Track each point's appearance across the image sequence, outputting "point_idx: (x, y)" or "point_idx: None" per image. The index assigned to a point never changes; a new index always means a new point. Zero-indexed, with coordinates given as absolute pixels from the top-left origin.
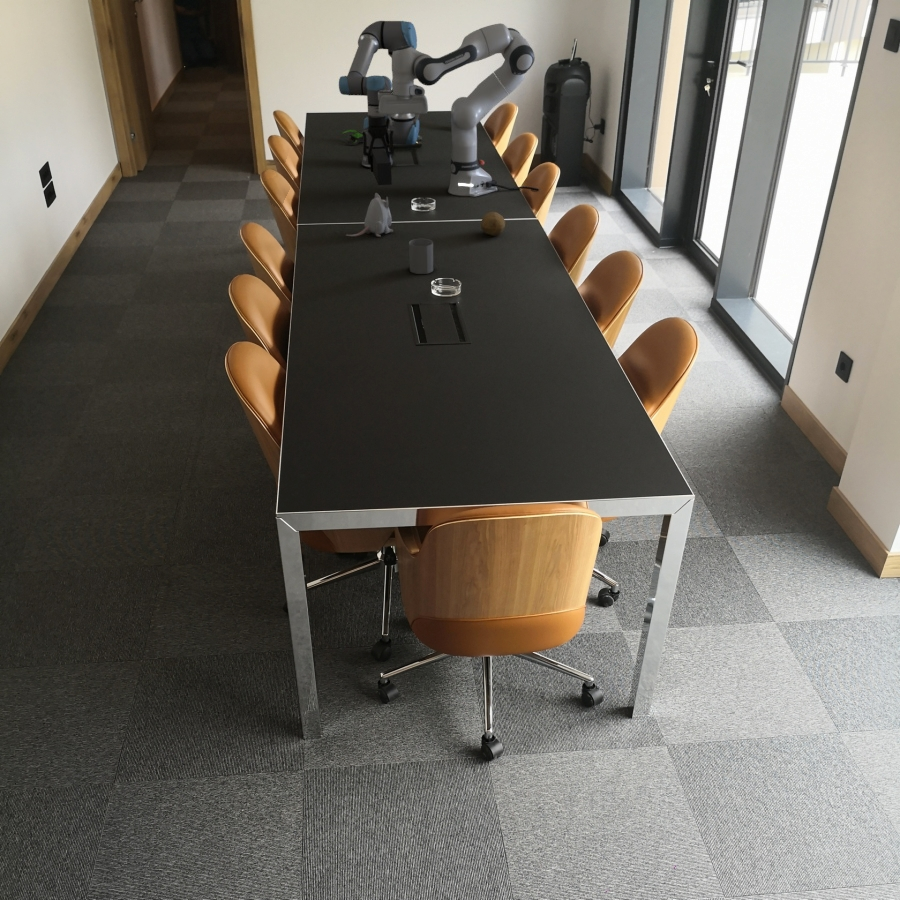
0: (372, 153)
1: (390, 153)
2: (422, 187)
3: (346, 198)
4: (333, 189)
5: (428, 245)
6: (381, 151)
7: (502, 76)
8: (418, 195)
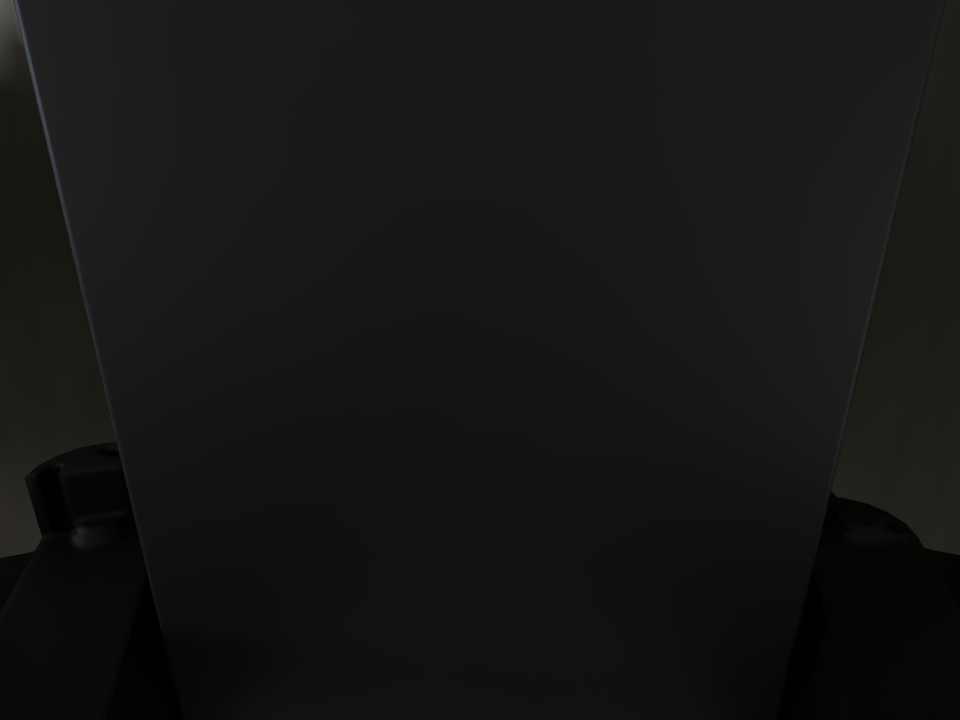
0: (805, 477)
1: (15, 582)
2: (2, 449)
3: (902, 187)
4: (924, 530)
5: None
6: (347, 599)
7: None
8: (14, 151)
